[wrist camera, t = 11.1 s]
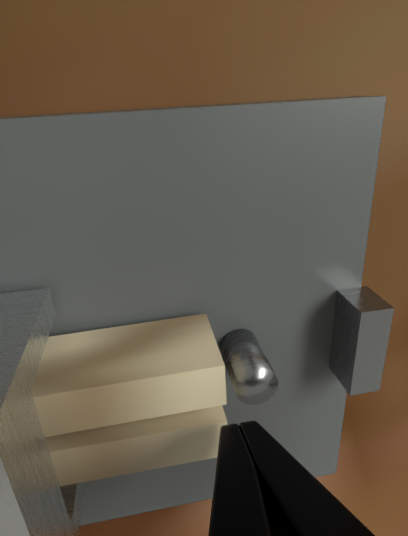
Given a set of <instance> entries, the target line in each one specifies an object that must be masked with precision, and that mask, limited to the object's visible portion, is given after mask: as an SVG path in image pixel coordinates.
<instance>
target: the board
mask: <svg viewBox="0 0 408 536" xmlns="http://www.w3.org/2000/svg"><path fill="white" fill-rule="evenodd" d="M385 102H386V96H353V97H337V98H320V99H303V100H286V101H269V102H252V103H236V104H219V105H202V106H185V107H168V108H151V109H135V110H118V111H101V112H84V113H67V114H51V115H34V116H17V117H0V294H3V293H11V292H19V291H28V290H36V289H44V288H50V292H51V296H52V300H53V304H54V308H55V312H56V316H55V319H54V322H53V325H52V328H51V331H50V334H49V337H50V336H57V335H64V334H71V333H77V332H84V331H91V330H98V329H105V328H111V327H118V326H125V325H132V324H138V323H145V322H152V321H159V320H166V319H172V318H179V317H186V316H193V315H199V314H206V315H207V317H208V320H209V323H210V326H211V328H212V331H213V334H214V337H215V339H216V342H217V345H218V348H219V351H220V342H221V340H222V338H223V337H224V336H225V335H226V334H227V333H228V332H230V331H232V330H235V329H247V330H249V331H251V332H252V333H253V334H254V335H255V337H256V339H257V341H258V343H259V344H260V346H261V348H262V350H263V352H264V354H265V356H266V358H267V360H268V361H269V363H270V365H271V367H272V369H273V371H274V373H275V375H276V377H277V379H278V389H277V391H276V393H275V394H274V396H273V397H272V398H270V399H269V400H268V401H266V402H264V403H261V404H258V405H248V404H244V403H242V402H241V401H240V400H239V399H238V398H237V396H236V393H235V390H234V387H233V385H232V382H231V379H230V376H229V374H228V371H227V368H226V365H225V379H226V400H227V404H226V405H222V406H223V409H224V413H225V416H226V419H227V425H228V424H234V423H236V424H238V425H239V423H241V422H246V421H253V420H254V421H257V422H258V423H259V424H260V425H261V426H262V427H263V428H264V429H265V430H266V431H267V432H268V433H269V434H270V435H271V436H273V437H274V438H275V439H276V440H277V441H278V442H279V443H280V444H281V445H282V446H283V447H284V448H285V449H286V450H287V451H288V452H289V453H290V454H291V455H292V456H293V457H294V458H295V459H296V460H297V461H298V462H299V463H300V464H301V465H302V466H303V467H305V468H306V469H307V470H308V471H309V472H310V473H311V474H312V475H313V476H314V477H318V476H323V475H328V474H333V473H336V469H337V461H338V454H339V447H340V439H341V432H342V424H343V417H344V409H345V402H346V394H347V391H346V390H345V388H344V387H343V386H342V384H341V383H340V381H339V380H338V379H337V377H336V376H335V375H334V373H333V372H332V371H331V369H330V368H329V362H330V353H331V343H332V334H333V324H334V315H335V305H336V296H337V290H342V289H349V288H357V287H361V282H362V274H363V267H364V259H365V252H366V244H367V237H368V230H369V222H370V215H371V207H372V200H373V192H374V185H375V177H376V170H377V162H378V155H379V147H380V140H381V132H382V125H383V117H384V110H385ZM220 353H221V352H220ZM221 356H222V354H221ZM222 359H223V357H222ZM223 362H224V360H223ZM224 364H225V363H224ZM216 464H217V458H212V459H206V460H201V461H195V462H190V463H185V464H179V465H174V466H168V467H163V468H157V469H152V470H147V471H141V472H136V473H130V474H125V475H120V476H114V477H109V478H103V479H98V480H92V481H87V482H84V491H83V500H82V509H81V518H80V526H81V525H86V524H91V523H96V522H100V521H105V520H110V519H115V518H120V517H125V516H130V515H134V514H139V513H144V512H149V511H154V510H159V509H163V508H168V507H173V506H178V505H183V504H188V503H193V502H197V501H202V500H207V499H212V498H213V491H214V482H215V473H216Z"/></svg>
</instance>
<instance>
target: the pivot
mask: <svg viewBox="0 0 408 536" xmlns="http://www.w3.org/2000/svg"><path fill="white" fill-rule="evenodd" d="M393 312H394V307H392V306H391V305H390V304H388V303H387V302H386V301H385V300H383V299H382V298H381V297H380V296H378V295H377V294H376V293H375V292H373V291H372V290H371V289H370V288H368V287H367V286H364V287H357V288H349V289H342V290H337V296H336V305H335V315H334V324H333V334H332V343H331V353H330V362H329V368H330V369H331V371H332V372H333V373H334V375H335V376H336V377H337V379H338V380H339V381H340V383H341V384H342V386H343V387H344V388H345V390H346V391H347V392H348V394H349V395H350V396H351V395H356V394H362V393H368V392H373V391H379V390H380V385H381V379H382V373H383V368H384V362H385V357H386V351H387V345H388V340H389V334H390V329H391V323H392V317H393ZM220 352H221V354H222V357H223V360H224V363H225V365H226V368H227V371H228V374H229V376H230V379H231V382H232V385H233V387H234V390H235V393H236V396H237V398H238V399H239V400H240V401H241V402H242V403H244V404H248V405H258V404H261V403H264V402H266V401H268V400H269V399H270V398H272V397H273V396H274V394H275V393H276V391H277V389H278V379H277V377H276V375H275V373H274V371H273V369H272V367H271V365H270V363H269V361H268V360H267V358H266V356H265V354H264V352H263V350H262V348H261V346H260V344H259V343H258V341H257V339H256V337H255V335H254V334H253V333H252V332H251V331H249V330H247V329H235V330H232V331H230V332H228V333H227V334H226V335H225V336H224V337H223V338H222V340H221V342H220Z"/></svg>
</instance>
